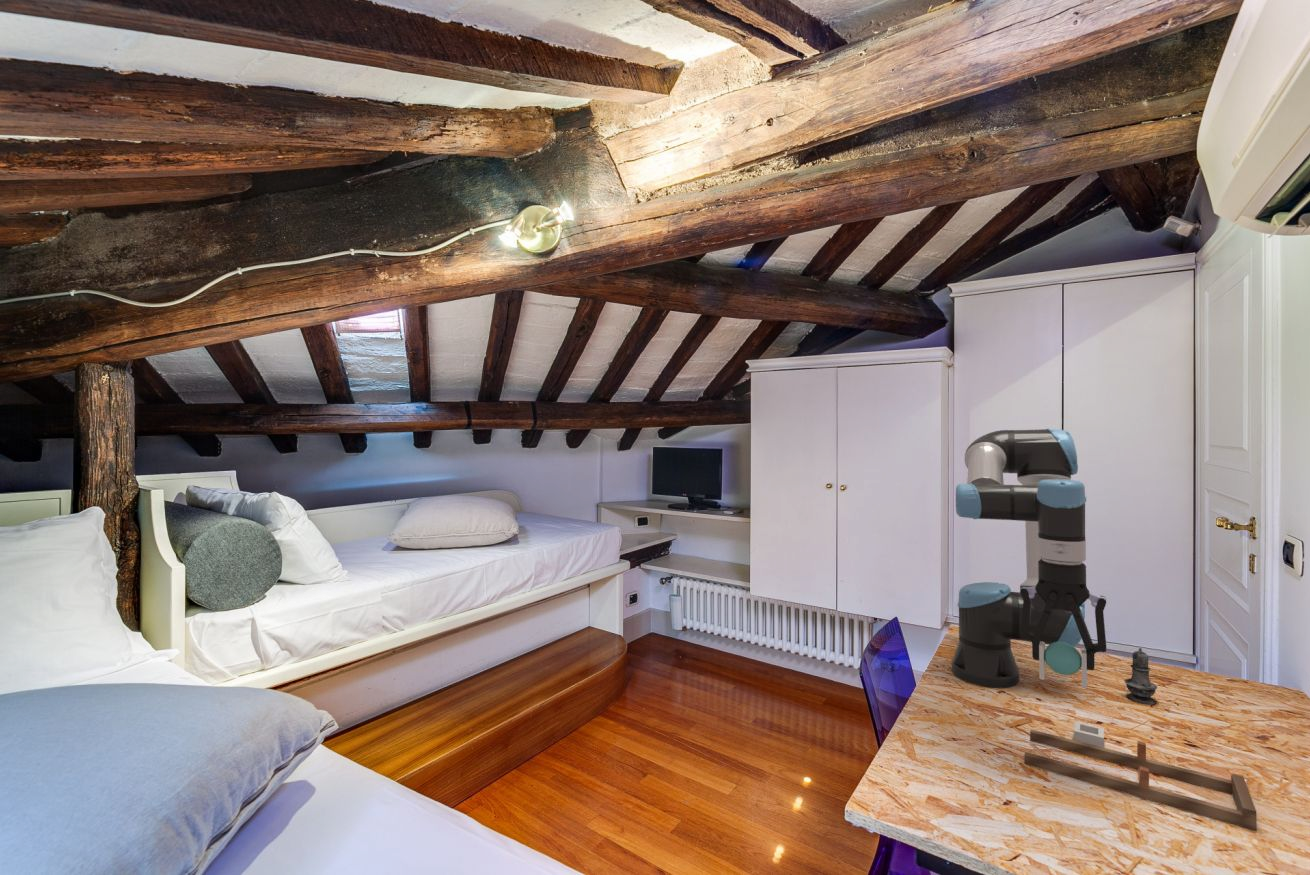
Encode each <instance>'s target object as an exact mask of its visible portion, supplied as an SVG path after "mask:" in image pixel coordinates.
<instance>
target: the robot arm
mask: <svg viewBox="0 0 1310 875" xmlns="http://www.w3.org/2000/svg"><path fill="white" fill-rule="evenodd" d="M964 464H965V467H966V468H967V478H966V480H967V482H966V483H960V484H957V485H956V487H955V512H956V514H957V516H958V517H960V518H964V519H965V518H967V519H972V520H1001V521H1017V522H1018V521H1021V522H1025V523H1024V524H1025V525H1024V526H1025V551H1026V552H1025V553H1026V556H1025V558H1026V560H1025V562H1026V580H1024V581H1023V582H1022V583H1021V584H1019V592H1018V591H1012V589H1011V587H1010V586H1009V585H1008V584H1005V583H999V582H994V581H993V582H991V581H988V582H987V581H984V582H983V581H982V582H974V583H969V584H966V585H963V586H962V587H961V588H960V589H959V591H958V602H957V607H958V643H957V647H956V649H955V651H954V655H953V657H952V660H951V671H952V672H951V673H952V674H954V676H956V677H958V678H959V679H961V680H963V681H965V682H968V683H970V684H974V685H977V686H982V687H986V688H996V689H997V688H999V689H1000V688H1001V689H1002V688H1010V687H1014V686H1017V685H1018V684H1019V683H1020V670H1019V668H1018V665H1017V662H1016V659H1015V657H1014V653H1013V652H1012V640H1015V641H1019V642H1020V641H1021V642H1022V641H1023V642H1028V643H1031V644H1032V645H1031V647H1032V648H1031V651H1032V652H1031V654H1032V658H1033V660H1035V661H1039V662H1038V664H1039V667H1038V670H1039V678H1038V679H1039V680H1045V677H1046V661H1045V659H1044V652H1045V649H1046V645H1050V644H1051V643H1054V642H1065V643H1068V644H1070V645H1072V646H1073V647H1077V646H1078V645H1079V644H1080V642H1081V640H1082V643H1083V645H1084V648H1081V653H1080V655H1081V657H1082V666H1081V688H1083V689H1088V670H1089V671H1094V670H1095V665H1096V664H1095V654H1097V653H1100V652H1101V653H1106V652H1107V639H1106V638H1107V637H1106V628H1105V614H1104V610H1105V608H1106V605H1107V598H1106V596H1104V595H1096V594H1093V593H1091V592H1090V590H1089V589H1088V587H1087V565H1086V564H1085V563H1084V562H1085V561H1086V560H1087V543H1086V542H1087V540H1086V502H1087V497H1086V492H1085V491H1086V490H1085V487H1086V486H1085V484H1084V482H1082V481H1080V480H1073V479H1072V476H1074V475H1076V474H1078V470H1079V464H1078V455H1077V450H1076V445H1075V441H1074V439H1073V436H1072V434H1070V432H1069V431H1067V430H1065V429H1050V428H1046V429H1010V430H1009V429H1002V430H1001V429H1000V430H995V431H992V432H989V433H986V434H984V435H982V436H980V437H978V438H976V439H975V440H974V441H972V442H971V443H970V445H969V446H968V447H967V448H966V451H965V453H964ZM1004 474H1016V476H1017V477H1016V479H1017V482H1019V483H1020V484H1021V485H1020V484H1005V483H1004ZM1087 600H1089V601H1090V605H1091V607H1093V608H1095V609H1094V617H1095V627H1096V639H1097V642H1095V643H1094V642H1093V639H1092V637H1091V634H1090V631H1089V629H1088V627H1087V623H1086V621H1085V618H1086V616H1085V615H1086V610H1085V609H1086V608H1085V606H1086V601H1087Z"/></svg>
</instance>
